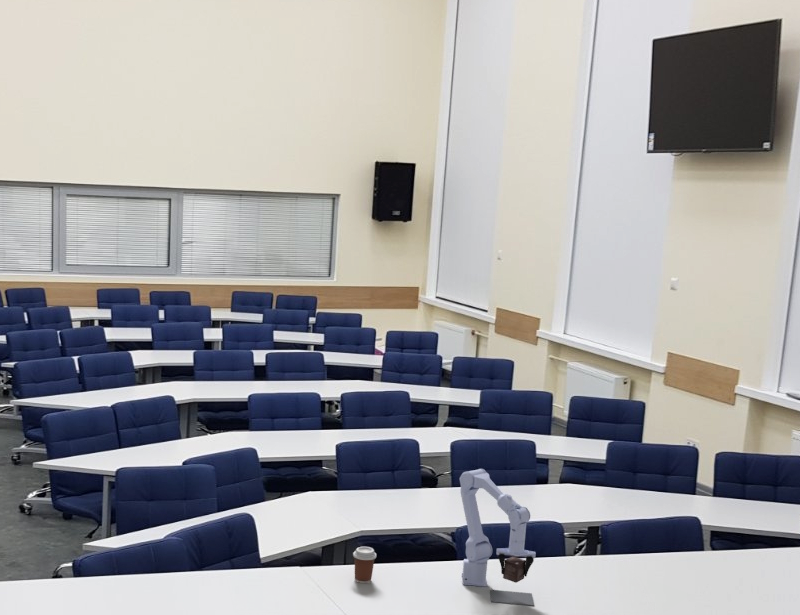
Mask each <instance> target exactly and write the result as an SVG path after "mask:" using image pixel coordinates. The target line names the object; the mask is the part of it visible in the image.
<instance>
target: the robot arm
mask: <svg viewBox="0 0 800 615" xmlns="http://www.w3.org/2000/svg"><path fill="white" fill-rule="evenodd" d="M459 484H460V497H461V501H462V506H463V507H462V508H463V511H464V517H465V521H466V526H467V531H468V536H469V537H468V538H467V540H466V542H465V556H466V558H464V559H463V564H462V573H461V580H462V581H461V582H462V585H464V586H465V585H467V586H477V587H484V588H485V587H488V584H487V583H488V582H487V570H488V561H489V559H490V557H491V556H492V554H493V547H492V544H491V543H490V541H489V538H488V537H487V536H486V535H485V534H484V531H483V527H482V522H481V517H480V512H479V507H478V502H477V501H478V500H477V497H476V494H477V492H478V491H479V489H483V490H485V492H487V493H488V494H489V495H490V496H492V498H494V499H495V500H496V501H497V502H496V504H497V506H498V507H499V508H500V510H502V511H503V512H504V513H505V515H507V517H508V521H509V527H510V532H509V539H508V540H509V541H508V542H509V543H508V547H505V548H504V547H503V548H496V550H495V551H496V556H497V557H498V560H499V561H498V562H499V563H500V568H501V575H503V574H504V564H505V560H506V558H505V556H509V557H512V556H514V557H522V558H525V560H526V564H525V573H524V577H527V576H528V572H529V570H530V568H531V566H532V565H533V563H534V561H535V559H536V551H532V550H527V549H525V543H526V542H525V541H526V532H527V531H526V530H527V522H529V521H530V520H531V512H530V510H529V509H528V507H526V506H522V505H520V504H519V503H517V502H516V500H515V499H513V496H512V495H510V494H507V493H505V494H504V492H502V491H501V489H500V488H499V487H498V486H497V485H496V484H495V483H494V481H492V479H491V478H490V474H489V473H488V472H487V471H486V470H485V469H484V468H478V469H475V470H474V469H473V470H469V471H468V470H467V471H463V472H462V474H461V475H460V476H459Z"/></svg>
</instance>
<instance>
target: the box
mask: <svg viewBox="0 0 800 615" xmlns="http://www.w3.org/2000/svg"><path fill="white" fill-rule="evenodd" d="M525 565H526V559H522V558H519V557H518V556H509V557H508V558H505V562H504V574H502V579H504V580H506V581H510V582H512V583H515V584H517V583H518V582H520V581H522V580H524V579H525V575H524V573H525Z"/></svg>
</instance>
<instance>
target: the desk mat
mask: <svg viewBox="0 0 800 615" xmlns="http://www.w3.org/2000/svg"><path fill="white" fill-rule="evenodd" d="M489 594H490V602H491V603H499V604H507V605H508V604H509V605H515V606H516V605H518V606H528V607H535V601H534V597H533V594H532V593H530V592H520V591H512V590H511V591H510V590H499V589H489Z"/></svg>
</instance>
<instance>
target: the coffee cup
mask: <svg viewBox="0 0 800 615" xmlns="http://www.w3.org/2000/svg"><path fill="white" fill-rule="evenodd" d="M352 556H353V558H354V581H355V582H357V583H360V584H368V583H371V581H372V576H373V570H374V564H375V559H376V558H377V553H376V552H375V549H374V548H373V547H370V546H360V547H357V548H356V549H355V550H354V552H352Z"/></svg>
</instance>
